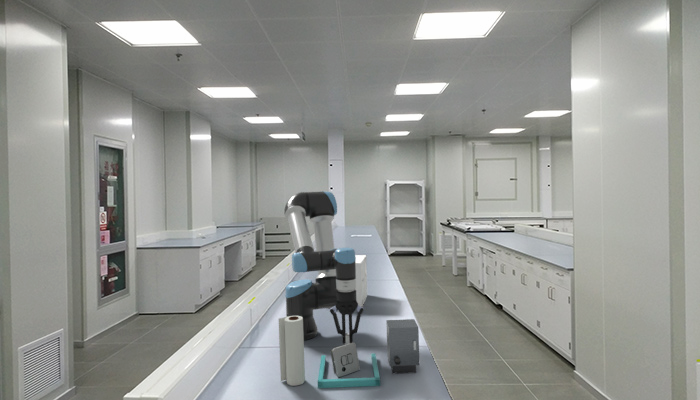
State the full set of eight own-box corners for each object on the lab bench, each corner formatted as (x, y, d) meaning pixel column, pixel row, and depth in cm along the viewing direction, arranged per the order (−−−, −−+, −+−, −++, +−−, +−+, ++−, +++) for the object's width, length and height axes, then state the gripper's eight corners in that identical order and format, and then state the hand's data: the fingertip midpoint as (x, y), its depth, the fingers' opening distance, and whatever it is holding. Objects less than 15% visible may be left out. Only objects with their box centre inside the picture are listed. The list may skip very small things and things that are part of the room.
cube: (362, 308, 207) (360, 263, 206) (323, 308, 210) (321, 263, 210) (367, 295, 232) (366, 255, 231) (332, 295, 235) (331, 255, 234)
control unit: (390, 376, 130) (389, 329, 129) (387, 363, 140) (386, 319, 139) (420, 375, 130) (419, 328, 129) (415, 362, 140) (414, 318, 139)
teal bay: (317, 388, 124) (317, 381, 124) (321, 360, 144) (321, 355, 144) (380, 385, 124) (380, 379, 124) (375, 358, 144) (375, 353, 144)
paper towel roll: (308, 381, 129) (306, 317, 128) (294, 388, 124) (292, 322, 124) (294, 374, 134) (292, 313, 133) (280, 381, 129) (278, 317, 128)
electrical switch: (338, 378, 130) (335, 350, 130) (330, 374, 134) (327, 346, 135) (360, 370, 135) (358, 343, 136) (352, 366, 140) (350, 340, 140)
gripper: (328, 292, 142) (330, 356, 143) (363, 291, 142) (365, 355, 143) (329, 287, 149) (331, 347, 150) (363, 286, 149) (364, 346, 150)
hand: (347, 351), depth 147 cm, fingers closed
